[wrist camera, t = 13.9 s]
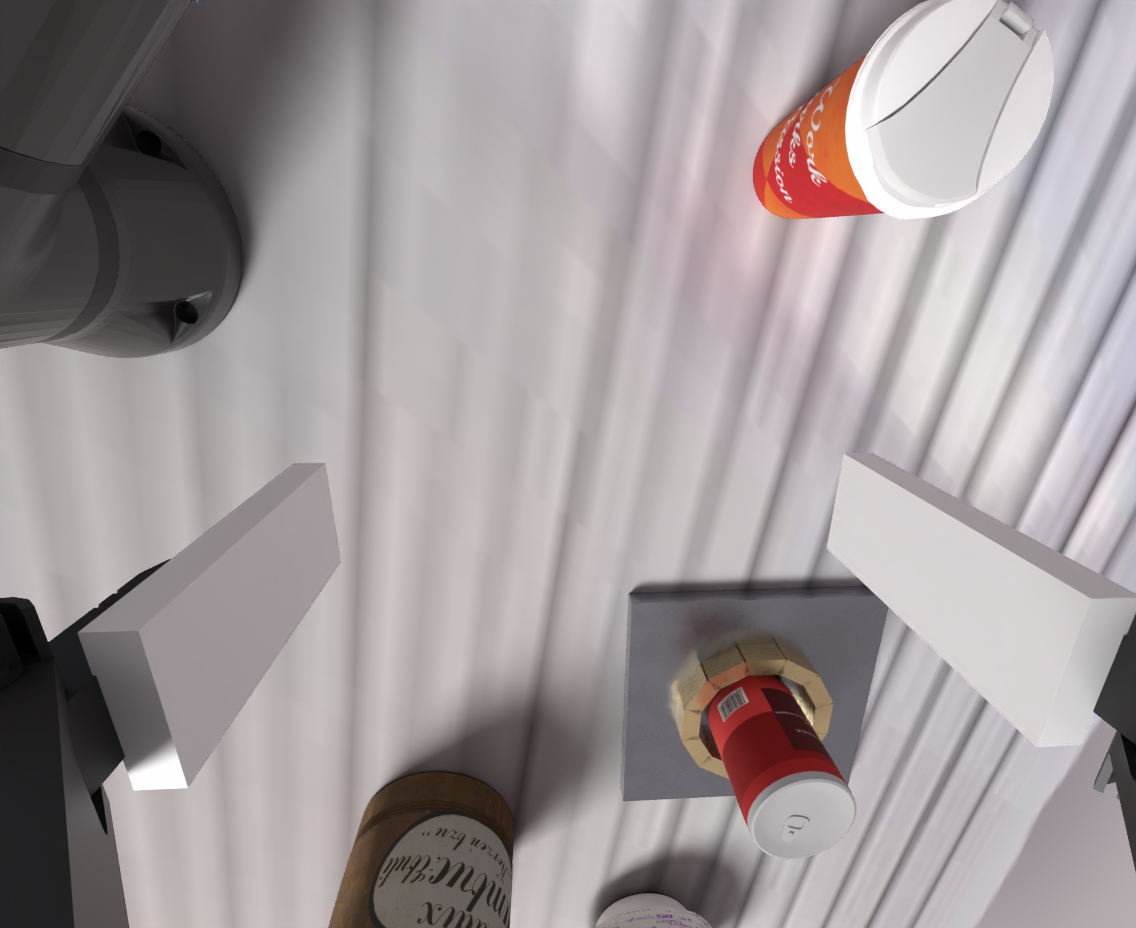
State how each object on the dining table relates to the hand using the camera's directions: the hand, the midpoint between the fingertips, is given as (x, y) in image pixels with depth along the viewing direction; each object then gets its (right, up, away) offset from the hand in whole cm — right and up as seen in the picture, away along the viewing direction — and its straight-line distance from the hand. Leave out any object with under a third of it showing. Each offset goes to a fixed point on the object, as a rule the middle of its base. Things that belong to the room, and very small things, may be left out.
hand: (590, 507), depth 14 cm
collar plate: (+16, -20, +36) cm, 44 cm away
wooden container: (-13, -35, +40) cm, 55 cm away
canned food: (+16, -20, +35) cm, 43 cm away
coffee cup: (+14, +21, +22) cm, 34 cm away
